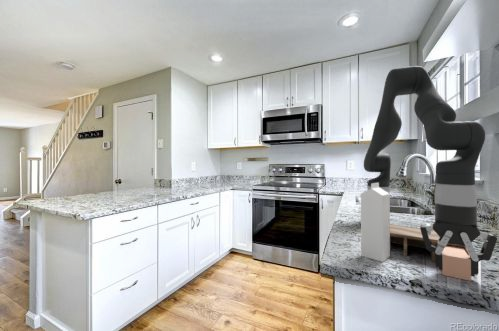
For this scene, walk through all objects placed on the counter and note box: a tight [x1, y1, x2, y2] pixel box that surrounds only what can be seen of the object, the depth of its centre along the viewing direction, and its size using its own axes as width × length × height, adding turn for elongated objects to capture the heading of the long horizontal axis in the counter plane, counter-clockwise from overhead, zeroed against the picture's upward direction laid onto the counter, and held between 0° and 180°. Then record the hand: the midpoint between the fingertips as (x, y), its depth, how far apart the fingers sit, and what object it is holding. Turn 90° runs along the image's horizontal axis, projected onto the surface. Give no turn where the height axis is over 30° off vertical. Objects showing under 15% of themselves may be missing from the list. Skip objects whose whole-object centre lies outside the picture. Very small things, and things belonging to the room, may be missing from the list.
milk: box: [360, 183, 391, 263], centre depth 65 cm, size 6×6×22 cm
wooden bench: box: [390, 223, 470, 262], centre depth 68 cm, size 12×21×6 cm, turn 54°
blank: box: [440, 245, 472, 282], centre depth 56 cm, size 10×5×5 cm, turn 144°
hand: (455, 271), depth 53 cm, fingers closed on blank, 5 cm apart
